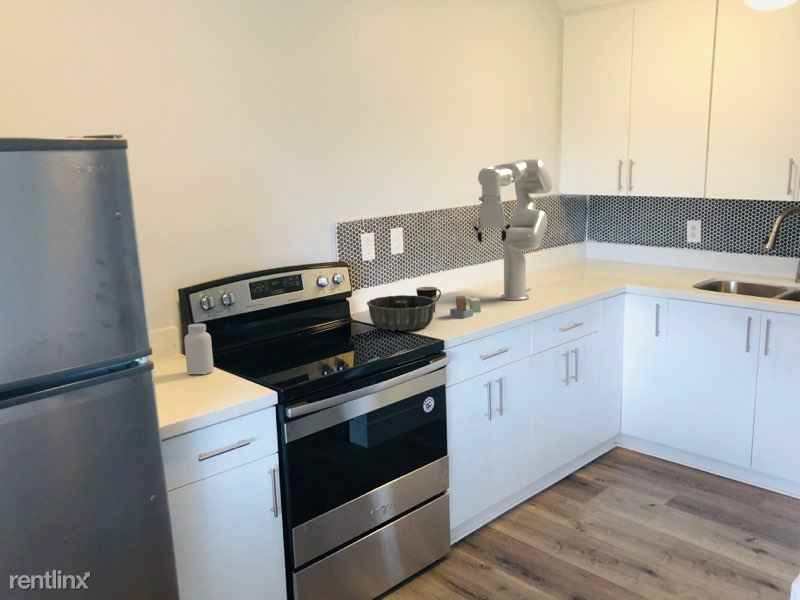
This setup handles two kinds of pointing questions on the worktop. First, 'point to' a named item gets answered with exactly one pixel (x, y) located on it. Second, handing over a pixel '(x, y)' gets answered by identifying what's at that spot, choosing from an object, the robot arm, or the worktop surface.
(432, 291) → the coffee mug
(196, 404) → the worktop surface
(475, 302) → the sage block
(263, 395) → the worktop surface
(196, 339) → the pill bottle
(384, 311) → the bundt pan
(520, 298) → the robot arm
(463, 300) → the walnut block
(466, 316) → the slate block
